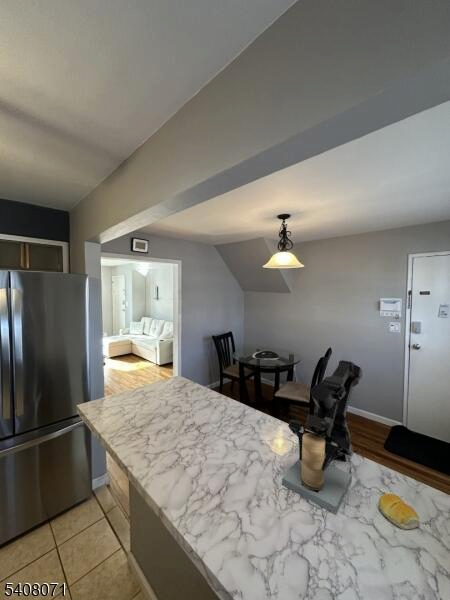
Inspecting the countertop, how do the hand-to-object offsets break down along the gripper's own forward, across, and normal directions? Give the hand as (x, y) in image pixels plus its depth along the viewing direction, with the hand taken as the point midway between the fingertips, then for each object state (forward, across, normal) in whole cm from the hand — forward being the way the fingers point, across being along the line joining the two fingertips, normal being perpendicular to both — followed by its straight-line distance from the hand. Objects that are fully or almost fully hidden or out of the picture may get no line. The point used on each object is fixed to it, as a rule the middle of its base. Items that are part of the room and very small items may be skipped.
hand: (311, 465), depth 74 cm
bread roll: (0, +21, +12) cm, 24 cm away
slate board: (+2, 0, +10) cm, 10 cm away
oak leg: (+4, 0, +6) cm, 8 cm away
